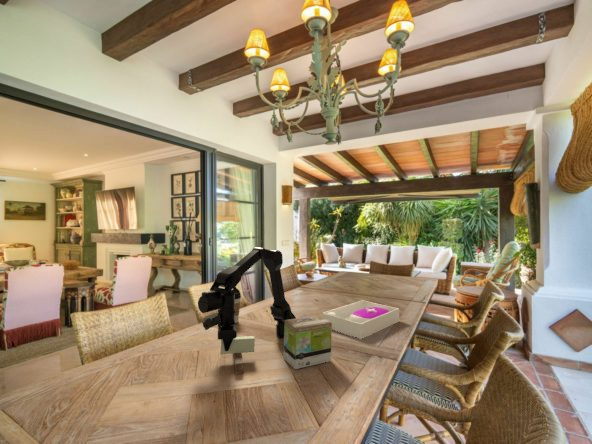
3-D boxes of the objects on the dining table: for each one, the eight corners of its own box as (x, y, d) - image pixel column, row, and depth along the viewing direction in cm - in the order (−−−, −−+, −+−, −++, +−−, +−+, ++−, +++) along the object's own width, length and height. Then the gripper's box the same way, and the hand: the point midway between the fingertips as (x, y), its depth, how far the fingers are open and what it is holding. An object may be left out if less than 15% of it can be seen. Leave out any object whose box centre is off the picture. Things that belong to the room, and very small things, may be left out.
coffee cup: (236, 325, 147) (237, 294, 147) (221, 323, 148) (221, 293, 148) (243, 319, 155) (243, 290, 155) (228, 318, 156) (228, 290, 157)
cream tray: (321, 327, 145) (321, 312, 145) (362, 312, 170) (362, 299, 170) (360, 340, 129) (360, 323, 129) (399, 322, 153) (399, 308, 154)
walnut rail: (239, 348, 119) (239, 340, 119) (243, 373, 100) (243, 363, 100) (232, 349, 118) (232, 340, 118) (235, 374, 99) (235, 363, 99)
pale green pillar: (253, 349, 112) (254, 335, 112) (254, 352, 109) (254, 338, 109) (220, 351, 109) (221, 337, 109) (220, 354, 106) (221, 340, 106)
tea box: (295, 371, 101) (295, 327, 101) (283, 359, 110) (283, 319, 110) (332, 361, 108) (332, 321, 108) (317, 351, 117) (317, 313, 117)
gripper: (204, 301, 115) (204, 341, 115) (202, 315, 97) (201, 363, 97) (234, 299, 118) (233, 338, 118) (236, 313, 100) (236, 359, 100)
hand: (226, 349), depth 108 cm, fingers closed on pale green pillar, 2 cm apart
